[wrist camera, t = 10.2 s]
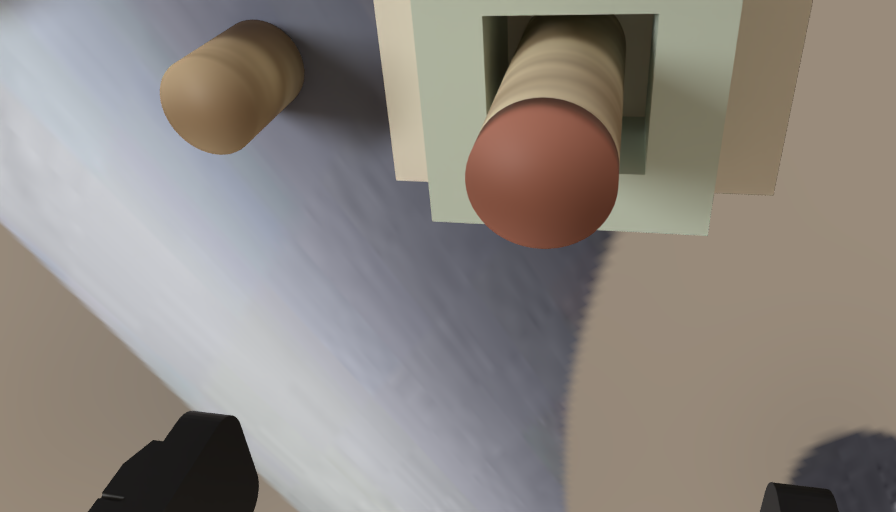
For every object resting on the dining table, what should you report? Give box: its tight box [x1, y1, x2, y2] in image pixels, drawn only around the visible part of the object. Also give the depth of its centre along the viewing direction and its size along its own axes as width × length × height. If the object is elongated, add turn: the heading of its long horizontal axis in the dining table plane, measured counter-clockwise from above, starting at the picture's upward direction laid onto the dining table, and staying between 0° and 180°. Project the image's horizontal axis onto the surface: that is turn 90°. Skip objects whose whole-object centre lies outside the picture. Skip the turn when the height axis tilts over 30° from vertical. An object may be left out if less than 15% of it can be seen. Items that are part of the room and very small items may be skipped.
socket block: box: [374, 0, 813, 236], centre depth 26 cm, size 12×16×6 cm
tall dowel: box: [465, 14, 626, 249], centre depth 23 cm, size 4×4×11 cm
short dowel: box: [160, 20, 304, 155], centre depth 30 cm, size 4×4×5 cm
